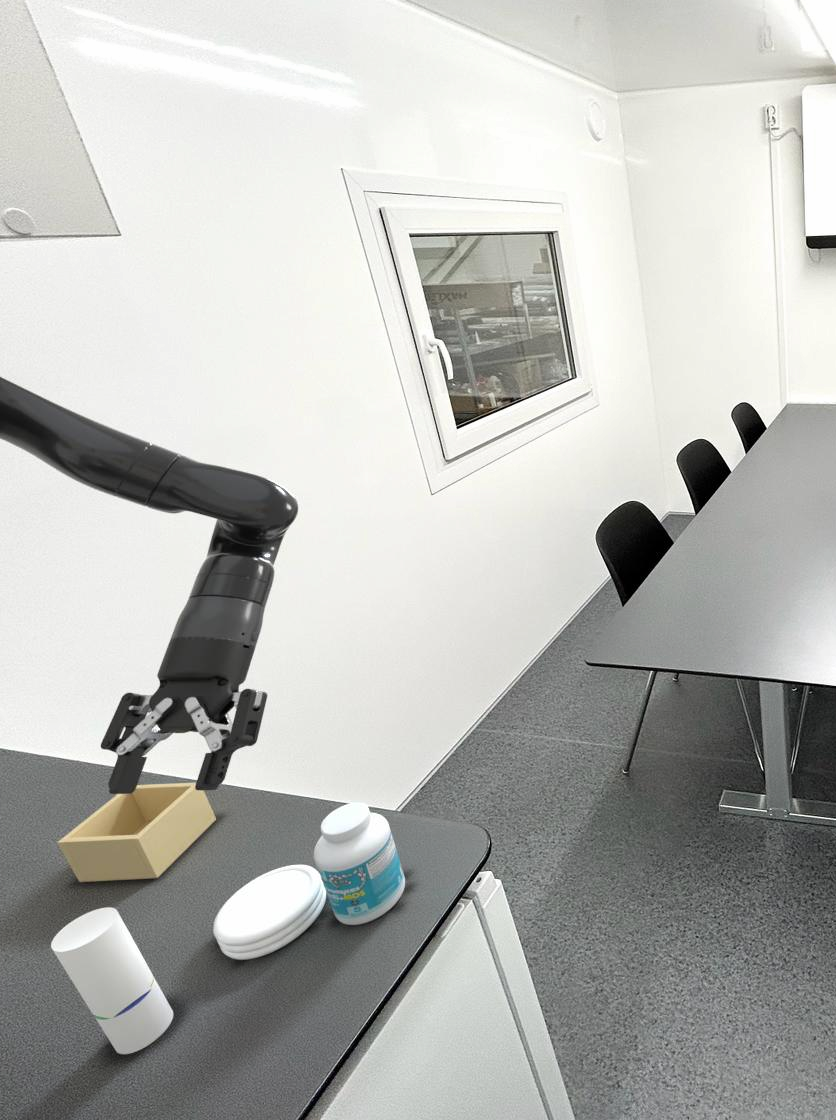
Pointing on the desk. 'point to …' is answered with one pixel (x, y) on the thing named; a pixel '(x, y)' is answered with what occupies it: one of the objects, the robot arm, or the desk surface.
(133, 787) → the robot arm
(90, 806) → the desk surface
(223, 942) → the white round stack
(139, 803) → the bin
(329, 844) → the pill bottle
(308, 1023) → the desk surface
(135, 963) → the tube
